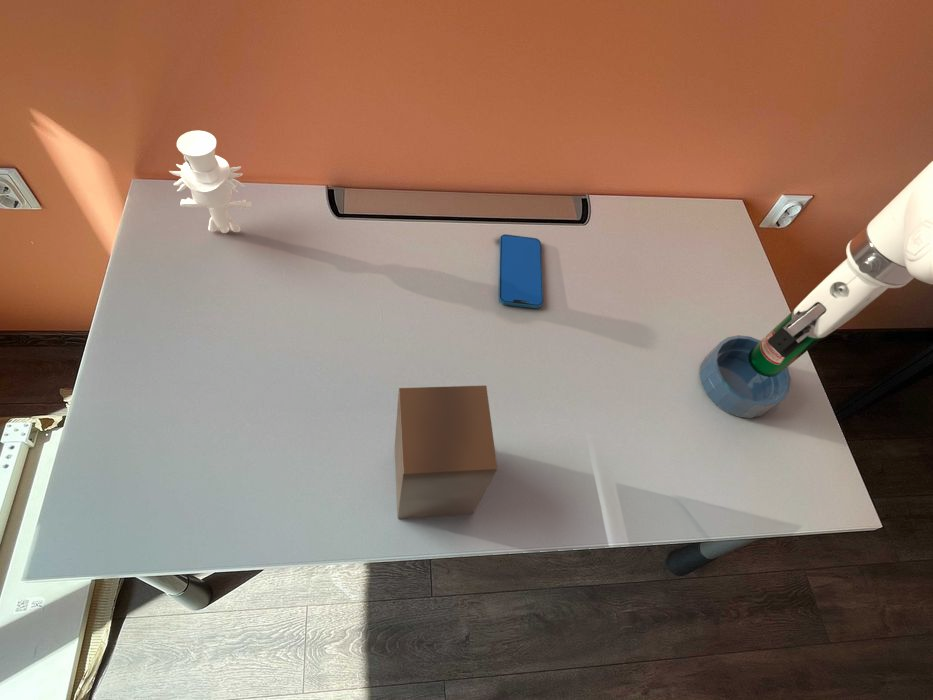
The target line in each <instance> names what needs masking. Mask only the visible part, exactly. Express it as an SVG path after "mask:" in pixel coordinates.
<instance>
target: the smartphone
mask: <svg viewBox="0 0 933 700" xmlns="http://www.w3.org/2000/svg"><path fill="white" fill-rule="evenodd" d="M498 253H499V254H498V255H499V261H498V262H499V263H498V301H499V303H500V304H501V305H504V306H512V307H520V308H521V307H522V308H530V309H540V308H542V306H543V304H544V290H543V288H544V287H543V266H542V265H543V261H542V260H543V259H542V241H541V240H540V239H539V238H537V237H530V236H521V235H513V234H506V233H505V234H502V235H500V237H499V252H498Z"/></svg>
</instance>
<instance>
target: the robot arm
mask: <svg viewBox="0 0 933 700" xmlns="http://www.w3.org/2000/svg"><path fill="white" fill-rule="evenodd" d="M845 251H846V252H845V253H846V254H845V255H846V257H847V258H846V259H845V260H843V261H842V262H841V263H840V264H839V265H838V266H837V267H836V268H834V270H833V271H831V273H829V274H828V275H827V276H826V277H825V278H824V279H823V280H822V281H821V282H820V283H819V284H818V285H816V287H815V288H814V289H813V290H812V291H811V292H809V293H808V294H807V296H806V297H805V298H803V300H802V301H800V303H799V304H798V305H796V307H795V308H794V309H793V310H794V315H797V316H796V317H795V318H793V319H792V320H791V321H790V322H789V323H788V324H785V325H784V326H783V327H781V328H780V329H779V330H778V331H777V332H776V333H775V334H774V335H773V336H772V337H771V338H770V339H769V340H768V343H769V344H770V345H771V346H772V347H773V348H774V349H775V350H776V351H777V352H778V353H779V354H780V355H781V356H782V357H784V358H785V357H787V356H788V355H789V354H791V353H792V352H793V351H794V350H795V349H797V348H798V347H799V346H800V345H801V344H802V343H804V342H805V341H804V339H805V338H806V337H807V336H809V335H810V334H811V333H812V332H813V333H814V334H815V335H816V336H817V337H819V338H822V337H823V338H825V337H827V336H828V335H830V334H832V333H834V331H836V330H837V329H840V327H842V326H843V325H844V324H846V323H847V322H849V321H851V320H852V319H853V318H855V317H856V316H857V315H858V314H860V312H861V311H863V310H864V309H866V307H868V306H869V305H870V304H871V303H873V302H874V301H875V300H876V299H877V298H879V297H880V296H881V295H882V294H883V293H884V292H885V291H886V290H888V289H900V288H903V287H904V286H906V285H907V284H909V283H910V282H911V281H912V280H914V279H916V280H918V281H920V282H923V283H925V284H928V285H933V160H932V161H931V162H930V163H929V164H927V166H925V168H923V170H922V171H920V172H919V173H918V174H917V175H916V176H915V177H914V178H913V179H912V180H911V181H910V182H909V183H908V184H907V185H906V186H905V187H904V188H903V189H902V190H901V191H900V192H899V193H898V194H897V195H896V196H895V197H894V198H893V199H892V200H890V202H889V203H888V204H887V205H886V206H885V207H884V208H883V209H882V210H881V211H880V212H879V213H877V214H876V215H875V216H874V217H873V218H872V219H871V220H870V222H868V223H867V225H866V226H865V227H863V228H862V230H861V231H859V232H858V233H857V234H856V235H855V236H853V238H852V239H851V240H849V242H848V243H847V245H846V247H845ZM806 312H807V313H806ZM815 319H816V320H817V322H816V323H815V322H814V320H815ZM807 326H808V327H809V328H810V329H808V330H807V331H806V332H805V333H804V334H803V332H802V330H803V329H804V328H805V327H807ZM823 338H822V339H823Z"/></svg>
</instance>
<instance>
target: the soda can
mask: <svg viewBox="0 0 933 700" xmlns="http://www.w3.org/2000/svg"><path fill="white" fill-rule="evenodd" d="M806 313H807V312H806ZM796 316H797V315H794V309H793V310H792V311H791V312H790V313H788V315H786V317H785V318H783V319H782V320H781V322H779V323H778V324H777V325H776V326H775V327H774V328H773V329H772V330H771V331H770V332H769V333H768V334H766V335H765V336H764V337H763V338H762V339H761V340H760V342H759V343H758V344H757V345H756V346H755V347H754V348H753V349H752V350H751V351H750V352H749V355H748V359H749V363H750V365H751V367H752V369H753V370H754V371H755V372H757V373H758V374H760V375H763V376H766V377H774V376H777V375H778V374H780V373H781V372H782V371H783V370H784V369H786V368H788V367H789V366H790V365H792V364H793V363H794V362H795V361H796V360H798V359H799V358H800V357H801V356H802V355H804V354H806V352H808V351H809V350H810V349H811V348H812V347H814V346H815V345H817V343H818V342H820V341H821V340H822V339H824V337H822V338H819V337H817V336H816V335H815V334H814V333H813V332H812V333H811V334H810V335H809V336H807V337H806V338H805V339H804V341H805V342H804V343H802V344H801V345H800V346H799V347H798V348H797V349H795V350H794V351H793V352H792V353H791V354H789V355H788V356H787V357H785V358H784V357H782V356H781V355H780V354H779V353H778V352H777V351H776V350H775V349H774V348H773V347H772V346H771V345H770V344H769V343H768V340H769V339H770V338H771V337H772V336H773V335H774V334H775V333H776V332H777V331H778V330H779V329H780V328H781V327H783V326H784V325H785V324H788V323H789V322H790V321H791V320H792V319H793V318H795V317H796ZM814 322H815V323H816V322H817V320H816V319H815V320H814ZM808 329H810V328H809V327H808V326H807V327H805V328H804V329H803V330H802V332H803V334H804V333H805V332H806V331H807V330H808Z"/></svg>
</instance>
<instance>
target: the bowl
mask: <svg viewBox="0 0 933 700" xmlns="http://www.w3.org/2000/svg"><path fill="white" fill-rule="evenodd" d="M760 341H761V340H760V339H758V338H755V337H752V336H750V335H749V336H748V335H732V336H727V337H726V338H724V339H723V340H721V341H720V342H718V344H716V346H715V347H713V348H712V350H711V351H710V352H709V353H708V354H706V356H705V357H704V359H702V362H701V364H700V368H699V378H700V383H701V385H702V388H703V389H704V392H705V393H706V395H707V397H708V398H709V399H710V400H711V401H712V402H713V403H714V404H715V405H716V406H717V407H719V408H720V409H721V410H723V411H725V412H726V413H728V414H731V415H733V416H735V417H739V418H749V419H752V418H756V417H761V416H763V415H764V414H765V413H767V412H768V411H769V410H771V409H773V408H774V407H775V406H777V405H778V404H779V403H780V402H782V401H783V400H785V399H786V398H787V396H788V394H789V392H790V391H791V381H792V378H791V374H790V371H789V368H788V367H787V368H786V369H784V370H783V371H782V372H781V373H780V374H778V375H777V376H774V377H766V376H763V375H760V374H758V373H757V372H755V371H754V370H753V369H752V367H751V365H750V363H749V359H748V355H749V352H750V351H751V350H752V349H753V348H754V347H755V346H756V345H757V344H758V343H759V342H760Z"/></svg>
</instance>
